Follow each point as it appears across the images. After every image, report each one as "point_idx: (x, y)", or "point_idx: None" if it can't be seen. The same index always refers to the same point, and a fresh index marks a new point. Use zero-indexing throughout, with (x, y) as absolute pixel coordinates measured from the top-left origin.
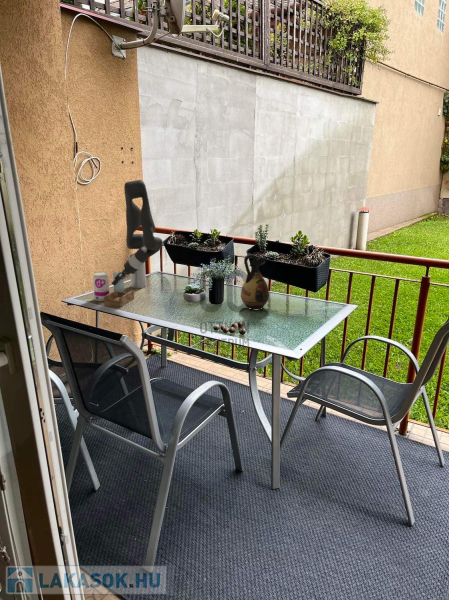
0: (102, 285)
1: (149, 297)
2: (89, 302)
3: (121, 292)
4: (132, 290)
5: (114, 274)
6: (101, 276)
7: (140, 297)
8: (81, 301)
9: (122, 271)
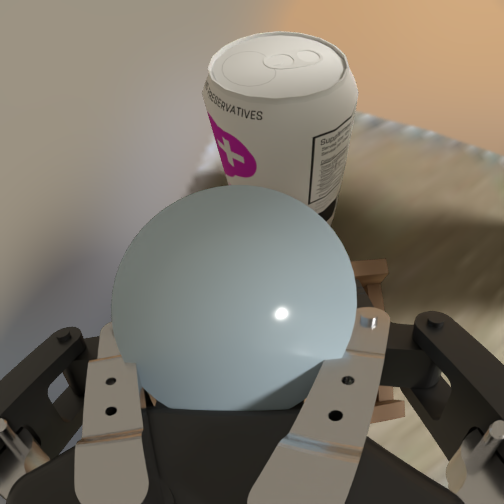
0: (231, 170)
1: (440, 477)
2: (203, 184)
3: (382, 299)
4: (394, 411)
5: (122, 267)
6: (219, 97)
7: (425, 427)
8: (209, 144)
9: (8, 491)
